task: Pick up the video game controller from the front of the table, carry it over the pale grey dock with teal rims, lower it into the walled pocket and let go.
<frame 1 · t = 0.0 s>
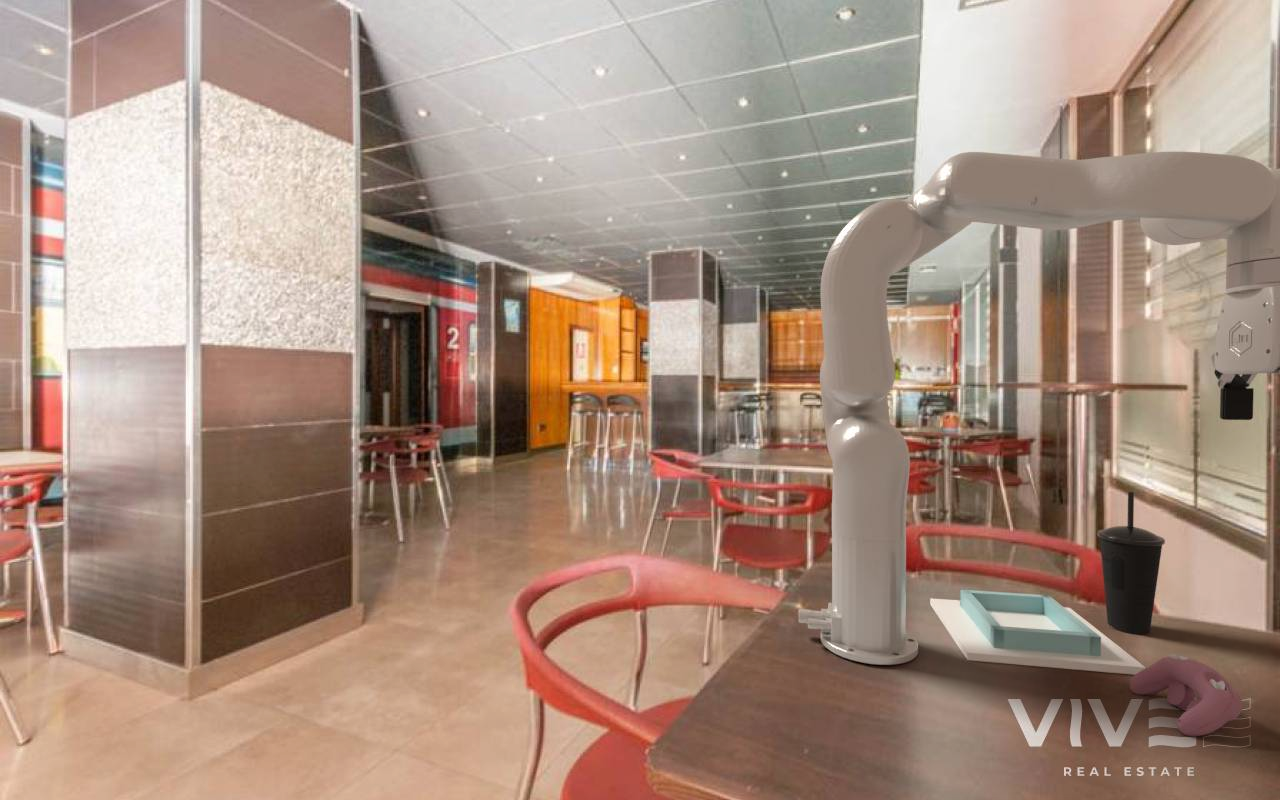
hand: (1266, 422, 72), 31 cm above the table, tool pointing down, fingers open, 9 cm apart
drinking cup: (1128, 629, 88), on the table
dock: (1022, 635, 86), on the table
video game controller: (1183, 717, 66), on the table
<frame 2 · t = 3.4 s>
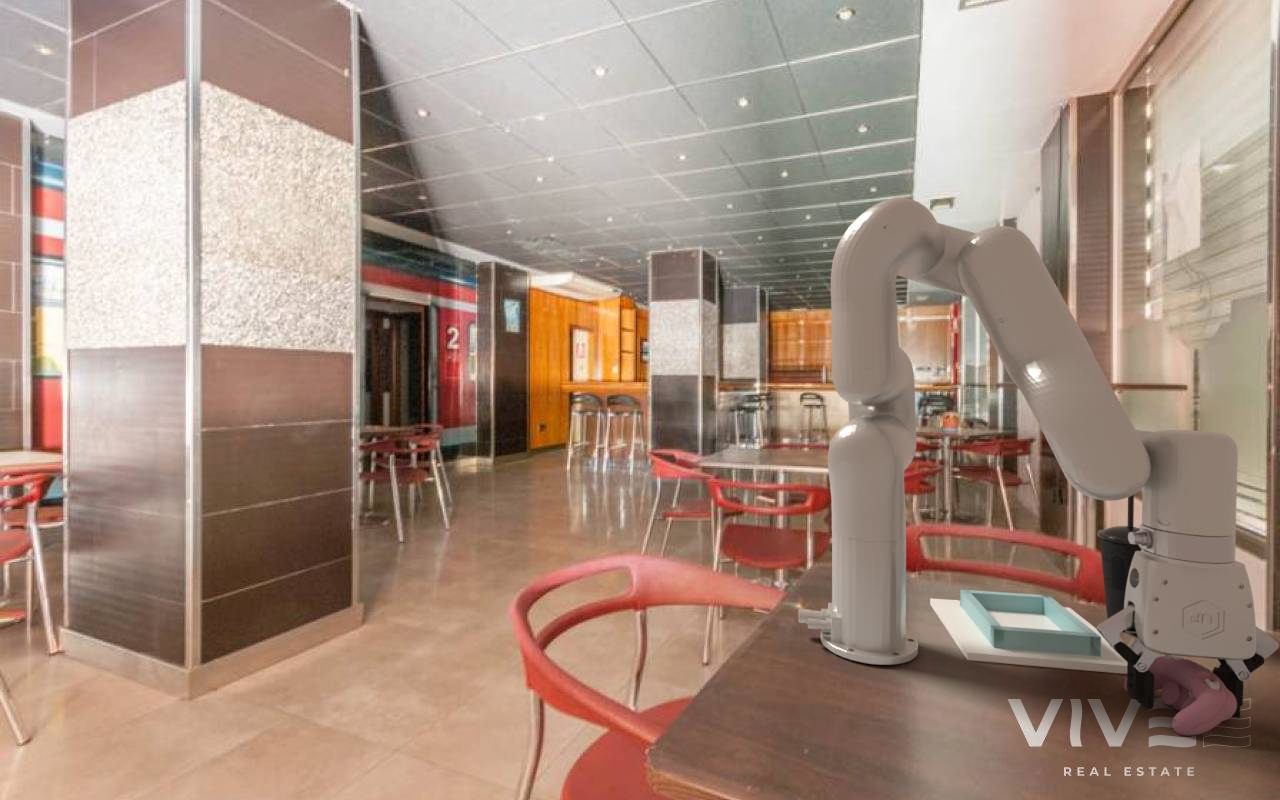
hand: (1182, 705, 66), 1 cm above the table, tool pointing down, fingers open, 7 cm apart
video game controller: (1177, 716, 66), on the table, touching gripper
everything else where it was.
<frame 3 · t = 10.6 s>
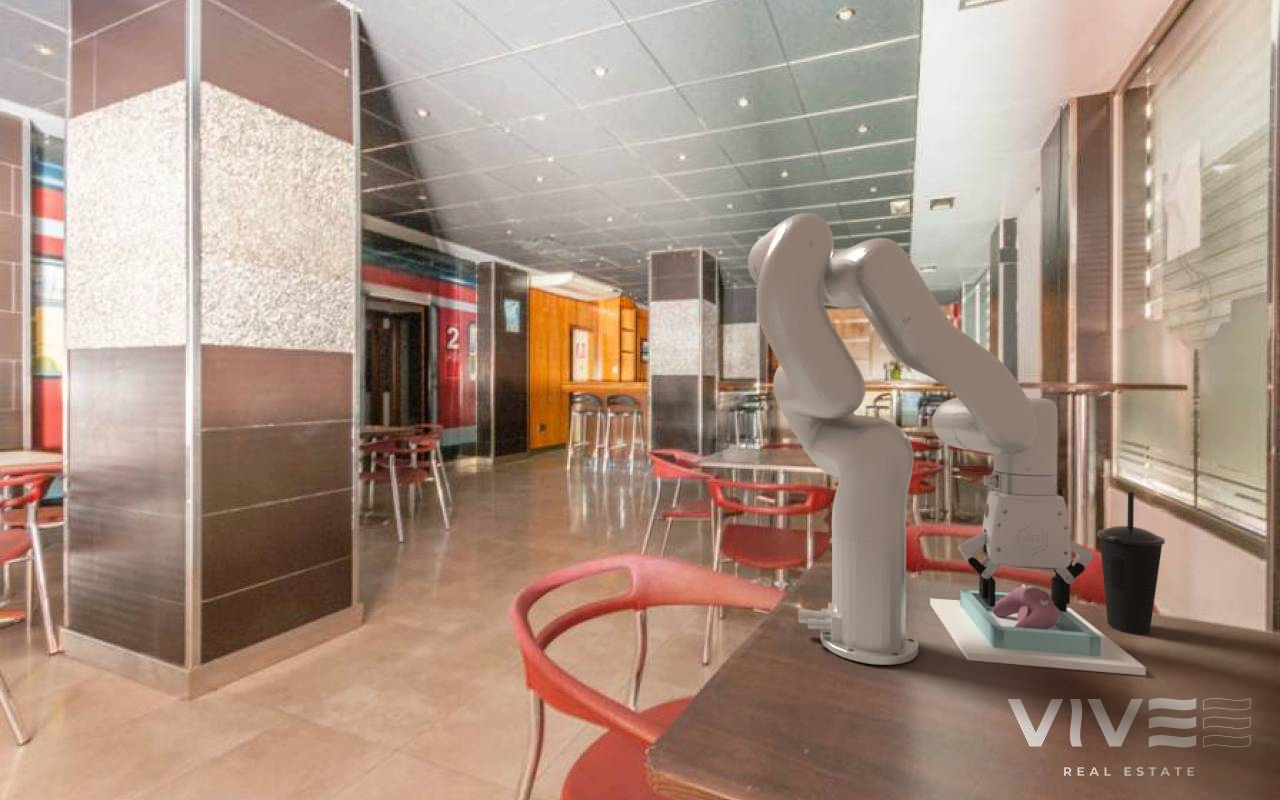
hand: (1023, 605, 86), 4 cm above the table, tool pointing down, fingers open, 8 cm apart
video game controller: (1024, 630, 86), point 1 cm above the table, touching dock
everything else where it was.
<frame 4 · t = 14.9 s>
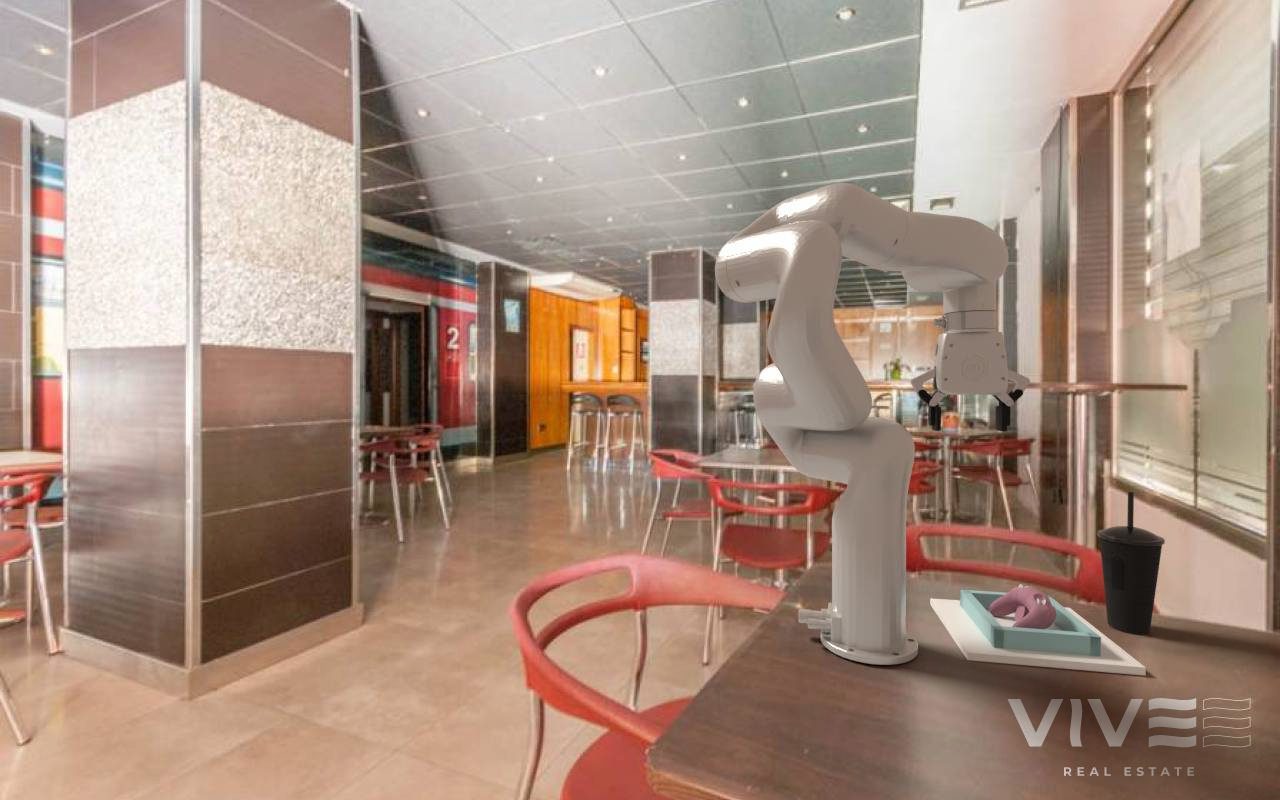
hand: (968, 430, 98), 28 cm above the table, tool pointing down, fingers open, 9 cm apart
nothing on the table moved.
at the end: video game controller 0.3 cm off-centre on the dock, point 0.8 cm above the dock's base; video game controller tilted 1°; the gripper is holding nothing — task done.
